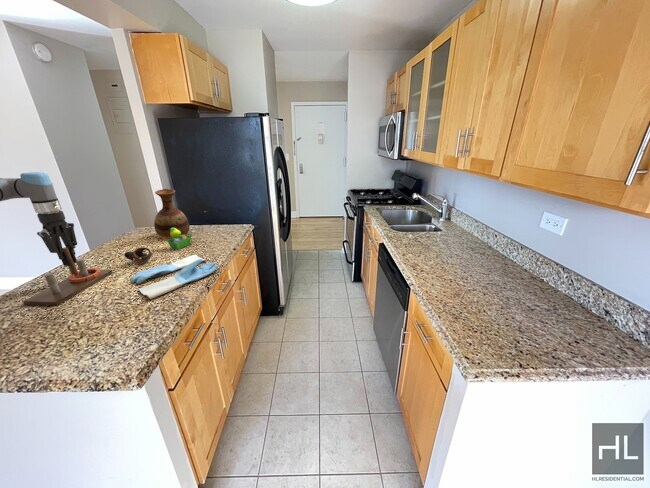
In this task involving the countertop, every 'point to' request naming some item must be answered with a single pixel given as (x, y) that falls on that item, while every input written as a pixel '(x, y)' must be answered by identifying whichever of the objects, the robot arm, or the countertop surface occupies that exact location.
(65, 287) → the rack
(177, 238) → the fruit basket
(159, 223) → the brown pottery vase
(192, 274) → the rubber gloves
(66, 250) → the ring
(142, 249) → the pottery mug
